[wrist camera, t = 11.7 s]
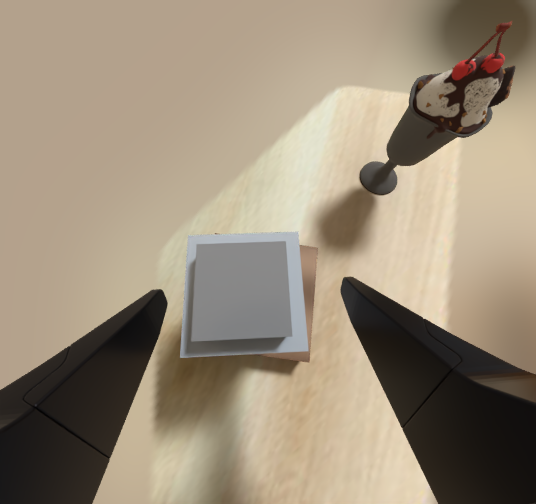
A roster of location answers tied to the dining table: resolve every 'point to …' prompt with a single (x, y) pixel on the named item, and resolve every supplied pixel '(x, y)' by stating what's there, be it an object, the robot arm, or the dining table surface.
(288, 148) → the dining table surface
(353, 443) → the dining table surface
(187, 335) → the grey rectangular block
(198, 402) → the dining table surface
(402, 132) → the sundae
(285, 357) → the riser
